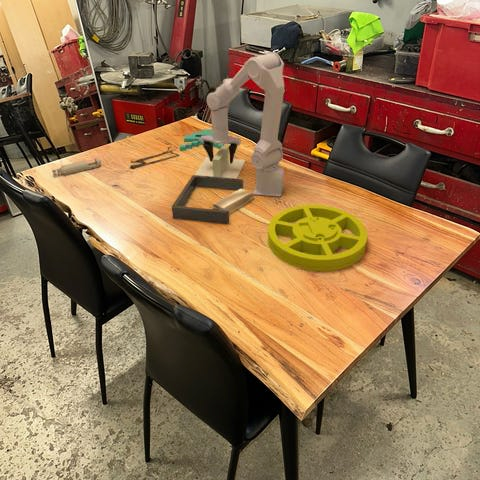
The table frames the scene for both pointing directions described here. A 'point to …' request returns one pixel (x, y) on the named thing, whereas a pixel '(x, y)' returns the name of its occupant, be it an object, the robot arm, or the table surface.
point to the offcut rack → (202, 213)
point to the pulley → (317, 237)
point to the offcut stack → (234, 201)
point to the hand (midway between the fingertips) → (221, 161)
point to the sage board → (220, 161)
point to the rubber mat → (230, 171)
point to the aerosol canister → (76, 167)
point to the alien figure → (197, 140)
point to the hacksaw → (152, 157)
